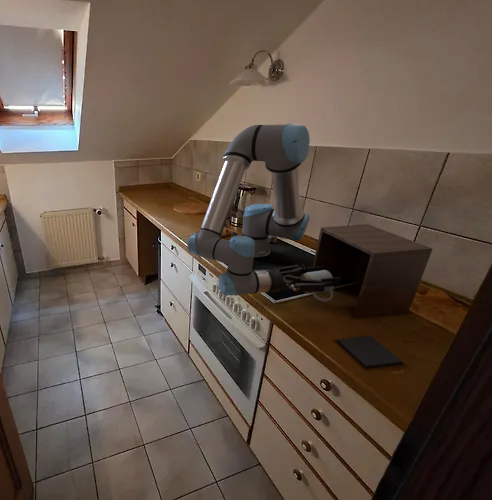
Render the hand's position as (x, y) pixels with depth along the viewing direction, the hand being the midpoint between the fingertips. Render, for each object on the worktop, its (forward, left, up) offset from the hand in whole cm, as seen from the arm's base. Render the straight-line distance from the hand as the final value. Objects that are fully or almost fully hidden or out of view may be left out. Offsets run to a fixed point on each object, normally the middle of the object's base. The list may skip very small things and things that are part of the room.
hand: (330, 275), depth 101 cm
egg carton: (-57, +8, -9) cm, 58 cm away
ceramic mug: (+1, -4, -6) cm, 8 cm away
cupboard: (0, +10, -9) cm, 14 cm away
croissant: (-67, -17, -9) cm, 70 cm away
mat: (+26, -7, -9) cm, 28 cm away
